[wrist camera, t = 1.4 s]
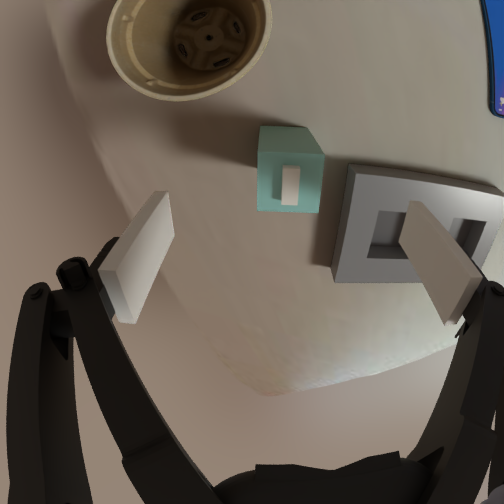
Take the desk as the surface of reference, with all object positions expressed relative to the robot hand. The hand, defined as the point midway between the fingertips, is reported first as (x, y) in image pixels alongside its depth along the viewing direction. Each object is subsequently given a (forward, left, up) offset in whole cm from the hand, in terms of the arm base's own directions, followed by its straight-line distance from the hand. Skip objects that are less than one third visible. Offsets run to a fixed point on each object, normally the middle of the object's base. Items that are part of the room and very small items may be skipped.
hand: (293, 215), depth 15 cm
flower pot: (-10, -6, -12) cm, 17 cm away
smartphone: (-15, +24, -12) cm, 31 cm away
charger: (0, 0, -12) cm, 11 cm away
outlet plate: (+7, +16, -11) cm, 21 cm away
